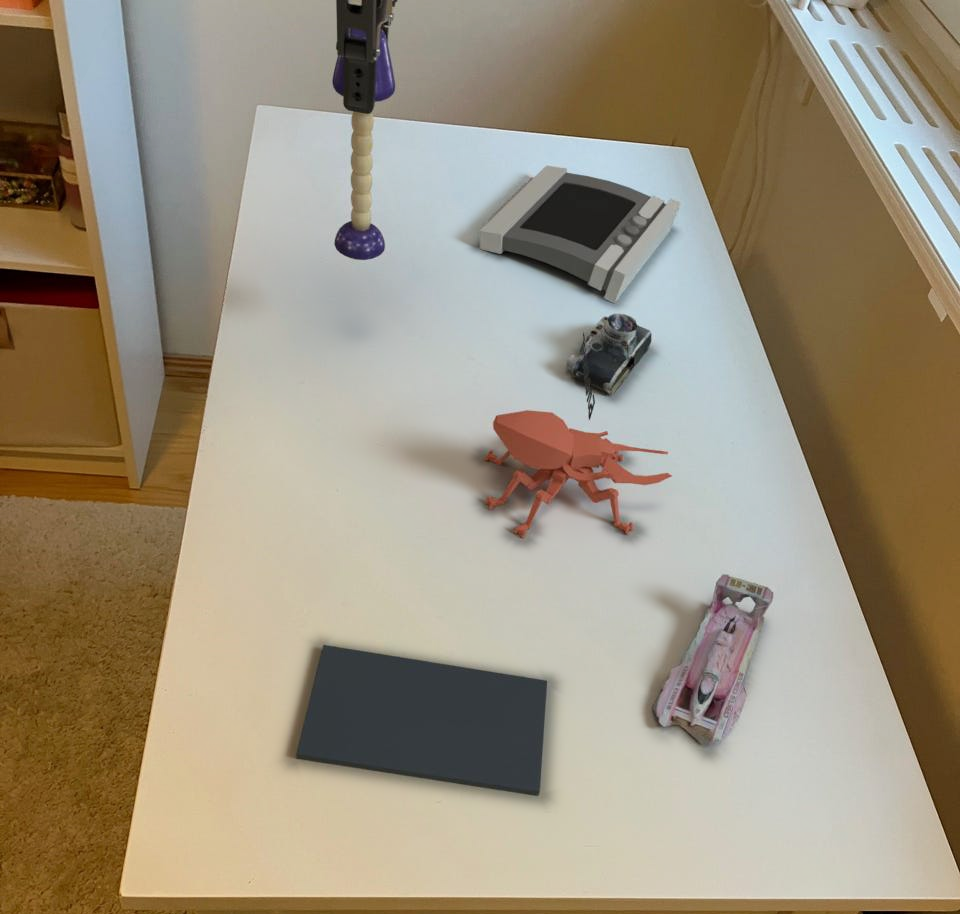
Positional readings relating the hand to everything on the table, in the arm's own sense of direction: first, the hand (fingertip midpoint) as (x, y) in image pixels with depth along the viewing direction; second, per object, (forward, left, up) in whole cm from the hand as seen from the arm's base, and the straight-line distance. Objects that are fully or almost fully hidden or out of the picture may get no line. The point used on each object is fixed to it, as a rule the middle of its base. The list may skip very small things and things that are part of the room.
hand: (364, 93), depth 74 cm
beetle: (+21, -15, -22) cm, 34 cm away
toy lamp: (0, 0, -13) cm, 13 cm away
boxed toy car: (+32, -32, -22) cm, 50 cm away
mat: (+12, -40, -22) cm, 47 cm away
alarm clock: (+20, +24, -22) cm, 38 cm away
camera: (+24, +3, -22) cm, 33 cm away
